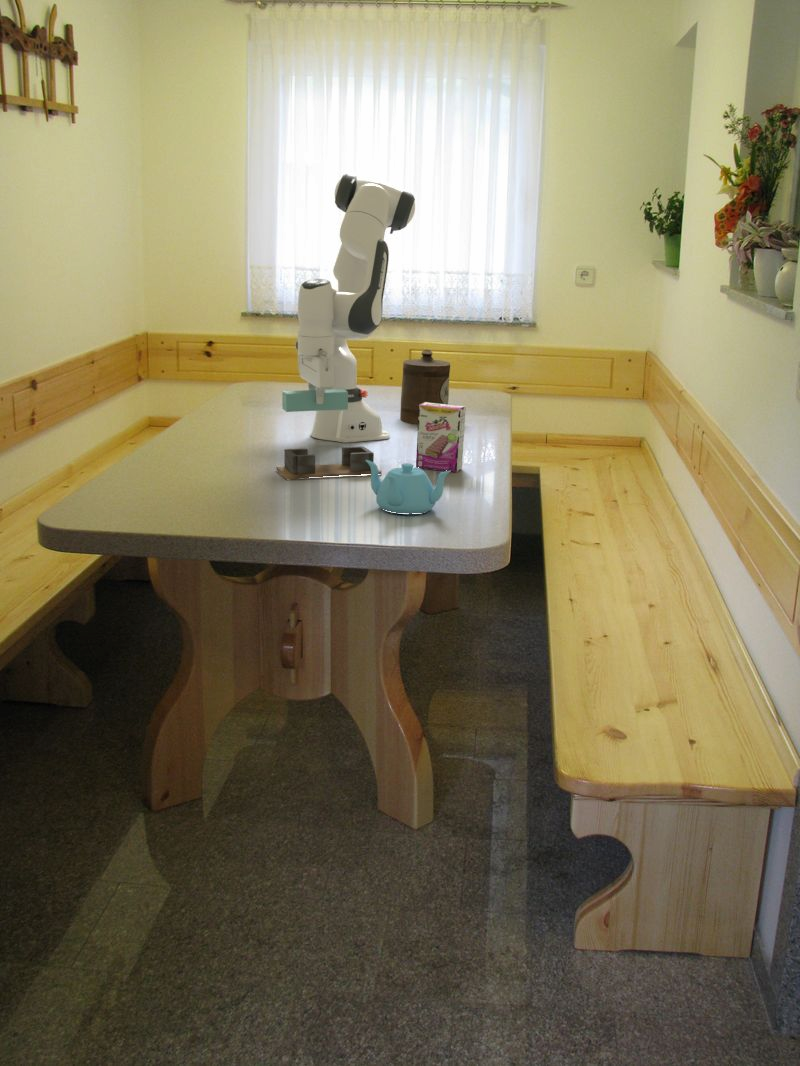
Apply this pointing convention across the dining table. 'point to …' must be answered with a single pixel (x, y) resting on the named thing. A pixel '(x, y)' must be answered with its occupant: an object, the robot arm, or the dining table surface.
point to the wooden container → (423, 385)
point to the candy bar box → (440, 436)
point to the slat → (306, 400)
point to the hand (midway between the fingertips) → (316, 401)
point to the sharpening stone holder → (304, 464)
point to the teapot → (406, 489)
